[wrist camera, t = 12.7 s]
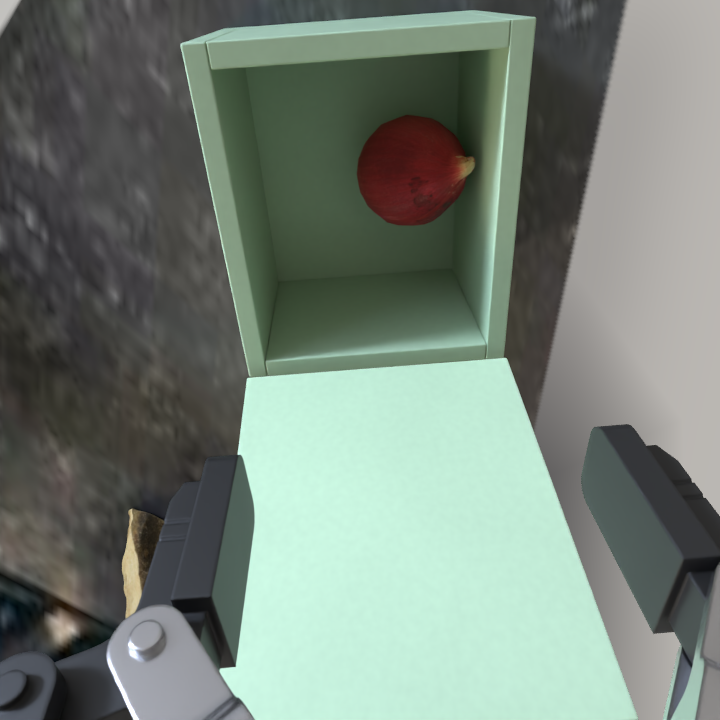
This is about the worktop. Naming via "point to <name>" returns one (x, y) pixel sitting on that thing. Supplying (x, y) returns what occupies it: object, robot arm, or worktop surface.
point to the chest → (341, 190)
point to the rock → (139, 554)
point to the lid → (412, 556)
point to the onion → (412, 170)
